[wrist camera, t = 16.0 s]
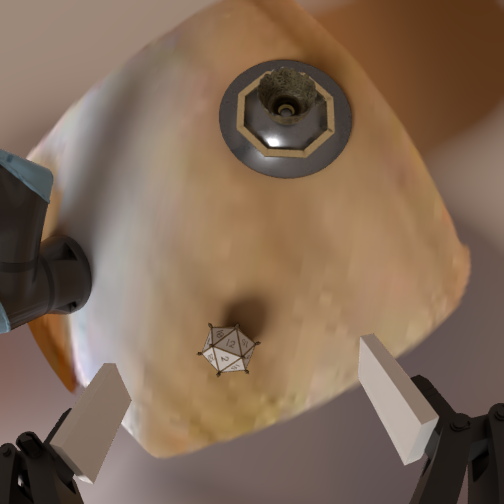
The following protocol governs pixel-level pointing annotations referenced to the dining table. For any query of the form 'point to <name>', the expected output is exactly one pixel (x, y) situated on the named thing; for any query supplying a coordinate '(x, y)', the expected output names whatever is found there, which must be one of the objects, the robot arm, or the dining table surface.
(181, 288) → the dining table surface
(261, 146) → the carrier plate
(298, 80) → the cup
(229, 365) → the game die
